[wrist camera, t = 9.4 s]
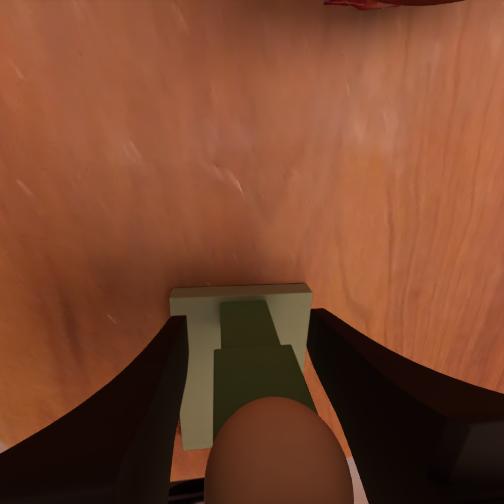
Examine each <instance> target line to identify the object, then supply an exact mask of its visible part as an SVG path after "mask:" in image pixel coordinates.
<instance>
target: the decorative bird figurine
mask: <svg viewBox="0 0 504 504" xmlns="http://www.w3.org/2000/svg"><path fill="white" fill-rule="evenodd" d="M458 1H464V0H330V1H325V2H324V3H323V4H324V5H343V6H348V5H351V6H353V7H356V8H357V9H359V10H374V9H381V8H385V7H398V6H401V5H405V6H428V5H438V4H446V3H453V2H458Z"/></svg>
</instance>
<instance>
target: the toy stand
mask: <svg viewBox="0 0 504 504" xmlns="http://www.w3.org/2000/svg"><path fill="white" fill-rule="evenodd" d="M312 294H313V292H312V291H311V289H310V288H309V287H308V285H307V284H306V283H301V284H272V285H244V286H216V287H188V288H172V291H171V294H170V297H169V305H170V316H176V315H187V329H188V343H189V361H188V373H187V379H186V384H185V389H184V394H183V399H182V404H181V409H180V423H181V434H182V445H183V451H186V450H195V449H203V448H212V445H213V373H214V350H215V349H221V333H220V303H227V302H250V301H267V304H268V307H269V310H270V313H271V316H272V319H273V322H274V326H275V329H276V332H277V335H278V338H279V341H280V344H281V345H287V344H291V345H292V348H293V350H294V353H295V355H296V358H297V361H298V363H299V366H300V368H301V371H302V374H303V369H304V361H305V352H306V343H307V335H308V326H309V318H310V310H311V303H312Z"/></svg>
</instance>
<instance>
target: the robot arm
mask: <svg viewBox="0 0 504 504" xmlns="http://www.w3.org/2000/svg"><path fill="white" fill-rule="evenodd" d="M306 346H307V349H308V352H309V356H310V359H311V361H312V364H313V367H314V369H315V371H316V373H317V375H318V377H319V379H320V382H321V384H322V386H323V388H324V390H325V392H326V394H327V396H328V398H329V400H330V402H331V404H332V406H333V408H334V410H335V412H336V415H337V417H338V419H339V421H340V424H341V426H342V429H343V432H344V434H345V437H346V440H347V442H348V445H349V448H350V450H351V453H352V456H353V459H354V462H355V464H356V467H357V470H358V473H359V476H360V479H361V482H362V485H363V488H364V491H365V494H366V497H367V500H368V503H369V504H504V394H502V393H499V392H495V391H492V390H488V389H485V388H482V387H478V386H475V385H472V384H469V383H467V382H464V381H461V380H458V379H455V378H452V377H450V376H447V375H444V374H442V373H439V372H437V371H434V370H432V369H430V368H427V367H425V366H423V365H420V364H418V363H416V362H413V361H411V360H409V359H407V358H405V357H403V356H401V355H399V354H397V353H395V352H393V351H391V350H389V349H387V348H386V347H384V346H382V345H380V344H379V343H377V342H375V341H374V340H372V339H370V338H368V337H367V336H365V335H364V334H362V333H360V332H359V331H357V330H356V329H354V328H353V327H351V326H350V325H348V324H347V323H345V322H344V321H342V320H341V319H339V318H338V317H336V316H335V315H333V314H332V313H330V312H329V311H327V310H325V309H324V308H318V309H311V310H310V318H309V326H308V335H307V343H306ZM188 361H189V343H188V329H187V315H176V316H171V317H170V318H169V320H168V321H167V322H166V324H165V325H164V326H163V327H162V329H161V330H160V331H159V332H158V334H157V335H156V336H155V337H154V338H153V340H152V341H151V342H150V343H149V344H148V345H147V347H146V348H145V349H144V350H143V351H142V352H141V353H140V354H139V355H138V356H137V357H136V358H135V359H134V360H133V361H132V362H131V363H130V364H129V365H128V366H127V367H126V368H125V369H124V370H123V371H122V372H121V373H120V374H119V375H117V376H116V377H115V378H114V379H113V380H112V381H110V382H109V383H108V384H107V385H105V386H104V387H103V388H102V389H100V390H99V391H98V392H96V393H95V394H94V395H92V396H91V397H90V398H88V399H87V400H86V401H85V402H83V403H82V404H80V405H79V406H77V407H76V408H74V409H73V410H72V411H70V412H69V413H67V414H66V415H64V416H63V417H61V418H59V419H58V420H56V421H55V422H53V423H52V424H50V425H49V426H47V427H45V428H44V429H42V430H40V431H39V432H37V433H35V434H34V435H32V436H30V437H28V438H27V439H25V440H23V441H21V442H20V443H18V444H16V445H15V446H13V447H11V448H9V449H8V450H6V451H4V452H3V453H0V504H205V501H204V491H202V492H195V493H188V494H180V495H173V496H168V494H169V484H170V475H171V466H172V457H173V448H174V440H175V434H176V428H177V423H178V419H179V414H180V409H181V404H182V399H183V394H184V389H185V384H186V379H187V373H188Z"/></svg>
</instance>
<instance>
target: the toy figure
mask: <svg viewBox="0 0 504 504" xmlns="http://www.w3.org/2000/svg"><path fill="white" fill-rule="evenodd" d="M220 333H221V349H215V350H214V373H213V445H212V448H211V451H210V454H209V458H208V461H207V466H206V471H205V482H204V501H205V504H354V497H353V496H354V495H353V485H352V478H351V474H350V470H349V466H348V463H347V460H346V457H345V454H344V452H343V450H342V448H341V446H340V444H339V442H338V440H337V438H336V436H335V435H334V433H333V432H332V430H331V429H330V428H329V426H328V425H327V424H326V423H325V422H324V421H323V420H322V419H321V417H320V416H319V415H318V413H317V410H316V407H315V405H314V402H313V400H312V397H311V394H310V392H309V389H308V387H307V384H306V381H305V379H304V376H303V374H302V371H301V368H300V366H299V363H298V361H297V358H296V355H295V353H294V350H293V348H292V345H291V344H287V345H281V344H280V341H279V338H278V335H277V332H276V329H275V326H274V322H273V319H272V316H271V313H270V310H269V307H268V304H267V301H250V302H227V303H220Z"/></svg>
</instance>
